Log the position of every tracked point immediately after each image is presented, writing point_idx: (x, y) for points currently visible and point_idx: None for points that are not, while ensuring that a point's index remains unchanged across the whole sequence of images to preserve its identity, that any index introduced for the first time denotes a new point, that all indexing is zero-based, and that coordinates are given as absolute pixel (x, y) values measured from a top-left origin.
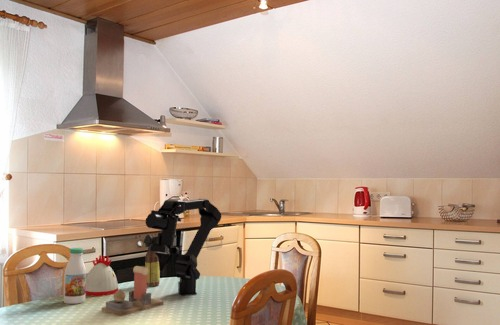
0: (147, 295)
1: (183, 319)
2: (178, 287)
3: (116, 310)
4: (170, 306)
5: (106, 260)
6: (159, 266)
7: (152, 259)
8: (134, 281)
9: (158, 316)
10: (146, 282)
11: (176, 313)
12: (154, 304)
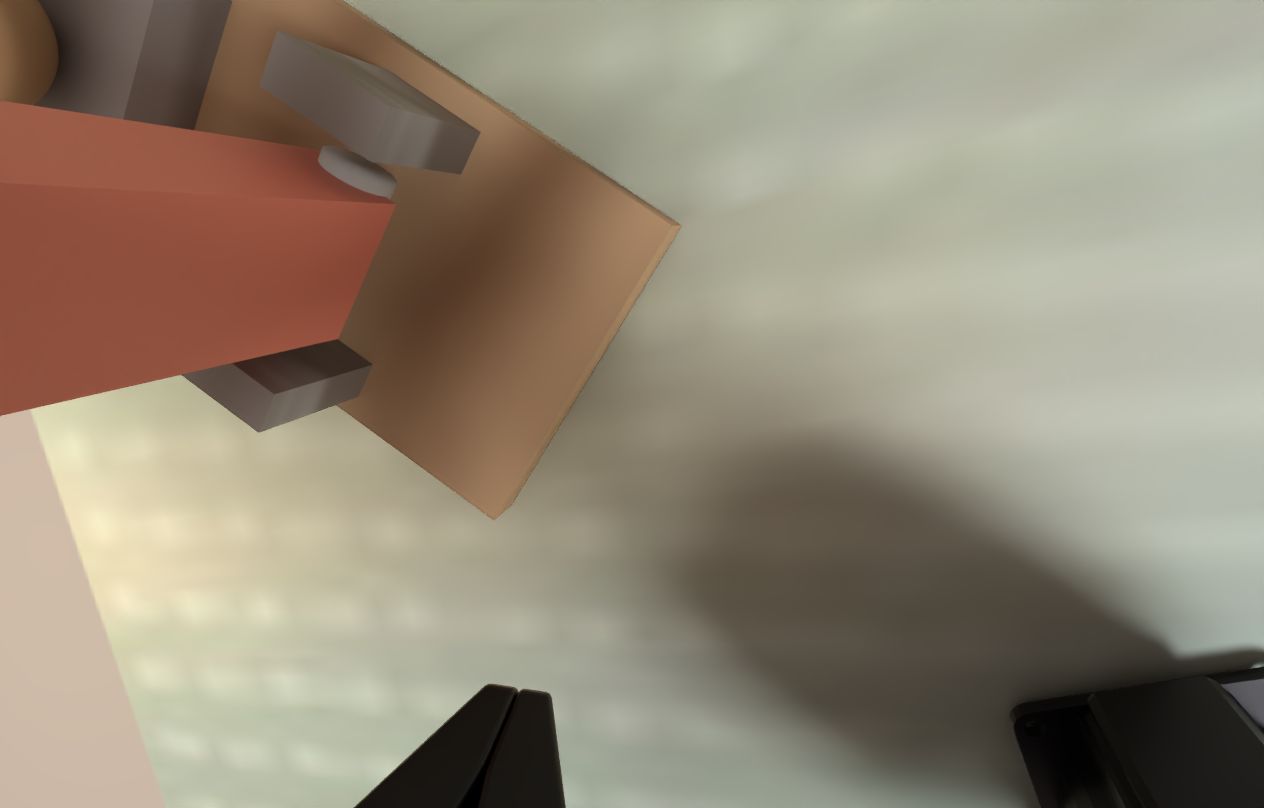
0: (217, 388)
1: (149, 704)
2: (1212, 725)
3: None
4: (459, 589)
5: None
6: (392, 781)
7: None
8: (61, 120)
9: (151, 512)
10: (127, 382)
11: (265, 652)
12: (387, 433)
